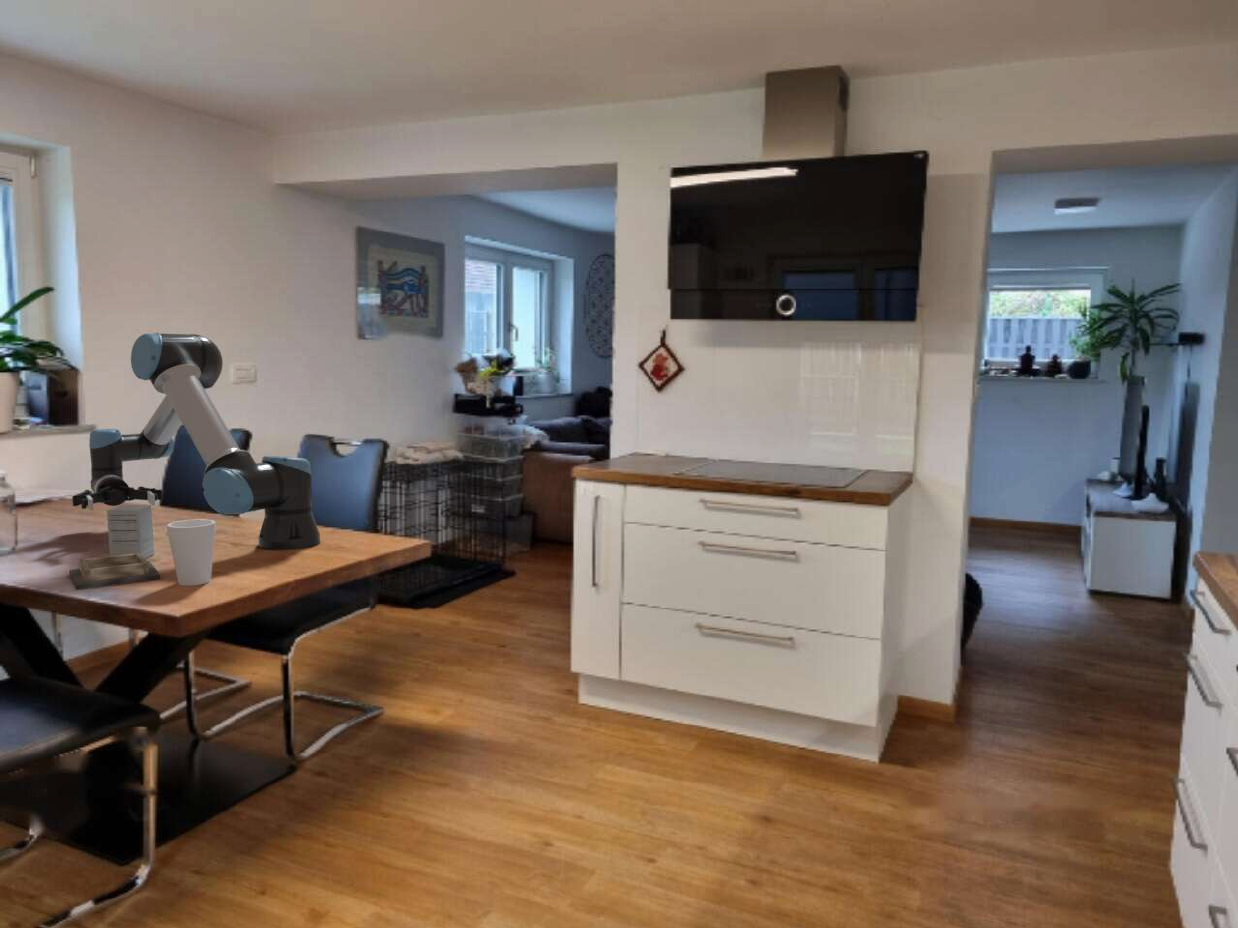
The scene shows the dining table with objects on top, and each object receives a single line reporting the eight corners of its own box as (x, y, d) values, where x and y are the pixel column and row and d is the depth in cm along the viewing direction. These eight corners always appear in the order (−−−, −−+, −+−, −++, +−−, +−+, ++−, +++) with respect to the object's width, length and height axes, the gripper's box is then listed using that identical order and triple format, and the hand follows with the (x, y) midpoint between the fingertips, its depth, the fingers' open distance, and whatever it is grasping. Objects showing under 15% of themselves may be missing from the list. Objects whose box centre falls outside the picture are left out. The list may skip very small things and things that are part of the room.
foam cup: (225, 576, 194) (222, 519, 192) (207, 587, 185) (204, 527, 183) (182, 576, 193) (179, 519, 192) (162, 587, 184) (158, 527, 183)
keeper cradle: (149, 564, 204) (148, 550, 203) (160, 578, 191) (159, 563, 191) (69, 574, 194) (68, 559, 194) (75, 590, 182) (74, 573, 181)
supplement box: (124, 554, 214) (121, 504, 212) (155, 554, 214) (152, 504, 213) (109, 561, 207) (105, 509, 205) (141, 561, 207) (137, 509, 205)
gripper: (164, 500, 242) (178, 512, 225) (58, 508, 227) (65, 522, 210) (162, 473, 241) (177, 483, 224) (56, 479, 226) (63, 491, 209)
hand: (122, 502), depth 217 cm, fingers open, 13 cm apart
